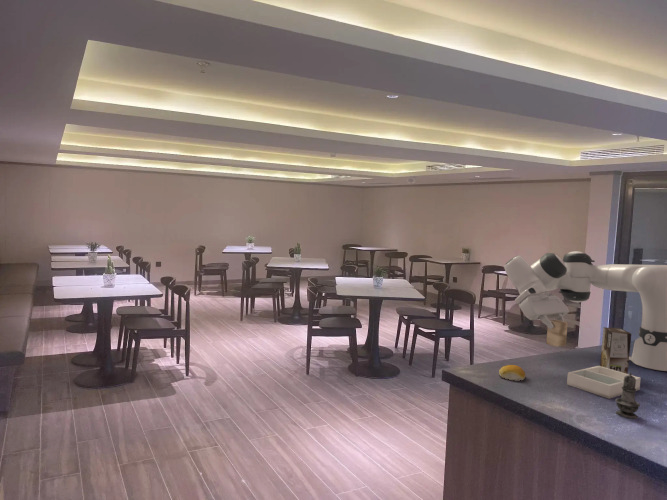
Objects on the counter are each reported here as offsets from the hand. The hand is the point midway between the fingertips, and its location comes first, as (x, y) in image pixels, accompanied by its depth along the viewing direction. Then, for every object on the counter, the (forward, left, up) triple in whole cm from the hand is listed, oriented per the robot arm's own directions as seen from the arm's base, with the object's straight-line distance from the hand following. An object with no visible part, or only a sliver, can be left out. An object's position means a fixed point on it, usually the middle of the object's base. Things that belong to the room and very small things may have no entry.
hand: (558, 327), depth 166 cm
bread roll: (+15, -6, -17) cm, 24 cm away
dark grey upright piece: (+13, +30, -17) cm, 37 cm away
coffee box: (-22, +8, -17) cm, 29 cm away
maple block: (0, 0, -6) cm, 6 cm away
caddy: (-5, +14, -17) cm, 23 cm away
